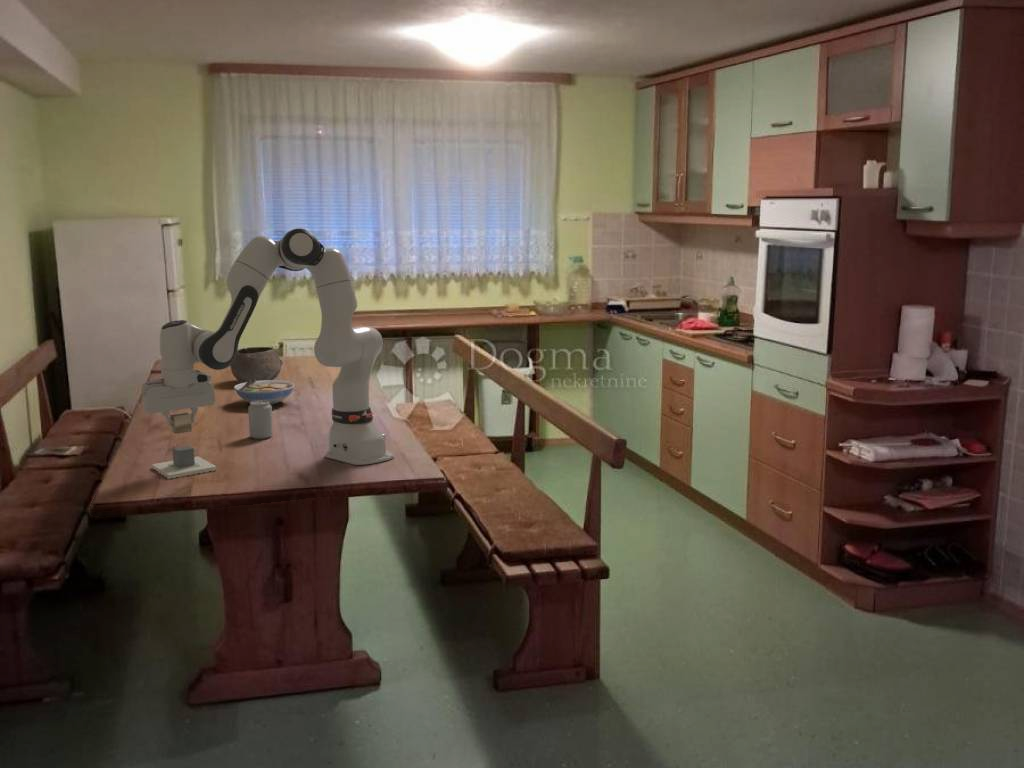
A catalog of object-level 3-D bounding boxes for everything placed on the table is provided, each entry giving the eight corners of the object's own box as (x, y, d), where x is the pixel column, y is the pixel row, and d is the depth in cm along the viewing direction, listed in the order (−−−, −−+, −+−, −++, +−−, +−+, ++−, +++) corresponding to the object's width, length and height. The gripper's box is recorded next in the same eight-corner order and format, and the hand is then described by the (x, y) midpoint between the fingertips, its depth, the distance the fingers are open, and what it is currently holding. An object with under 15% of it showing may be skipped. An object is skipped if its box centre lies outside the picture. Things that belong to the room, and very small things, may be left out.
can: (250, 440, 312) (248, 404, 310) (249, 435, 319) (247, 400, 317) (273, 439, 314) (271, 403, 312) (272, 433, 321) (270, 398, 319)
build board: (216, 470, 278) (216, 465, 277) (168, 479, 269) (168, 474, 269) (198, 460, 288) (198, 455, 288) (151, 468, 280) (151, 463, 279)
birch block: (191, 431, 277) (190, 414, 276) (175, 433, 274) (174, 416, 273) (186, 428, 280) (185, 411, 279) (170, 430, 277) (169, 413, 276)
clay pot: (256, 390, 393) (254, 354, 390) (221, 385, 404) (219, 350, 401) (292, 382, 411) (291, 347, 408) (258, 377, 421) (256, 343, 418)
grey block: (194, 465, 278) (193, 448, 277) (179, 467, 275) (178, 451, 274) (188, 461, 282) (187, 445, 281) (173, 464, 279) (172, 447, 278)
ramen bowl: (287, 411, 354) (287, 390, 353) (226, 411, 354) (225, 389, 353) (302, 397, 379) (301, 377, 377) (244, 397, 379) (243, 377, 377)
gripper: (144, 383, 265) (147, 431, 268) (216, 375, 278) (218, 421, 280) (137, 379, 270) (140, 427, 273) (208, 371, 282) (210, 417, 285)
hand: (180, 424), depth 277 cm, fingers closed on birch block, 5 cm apart
